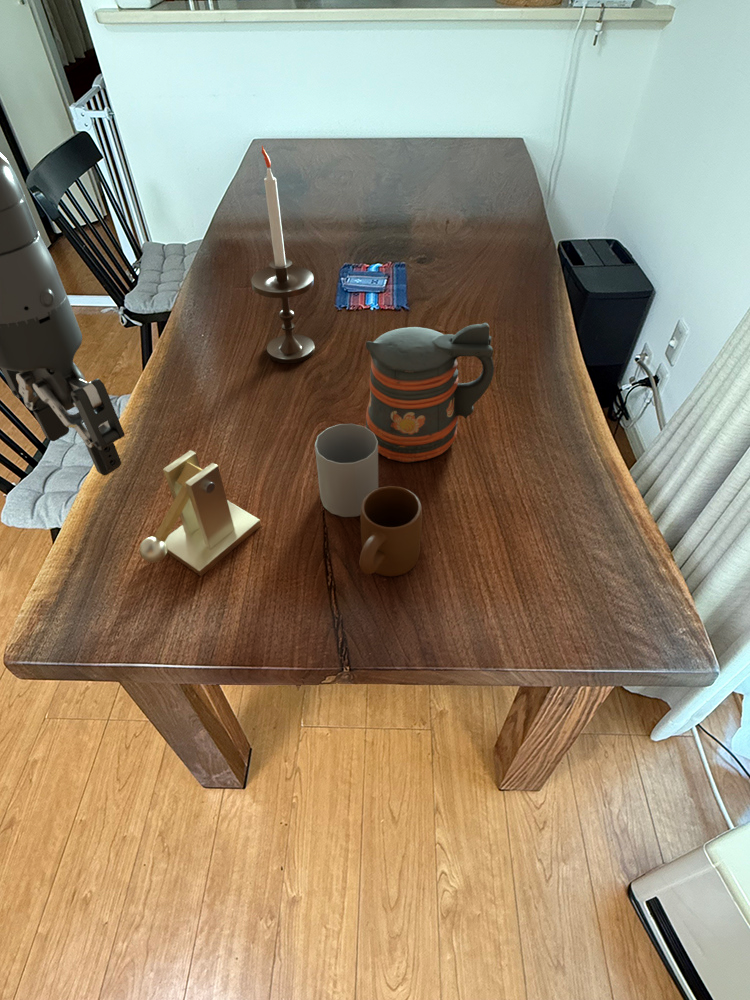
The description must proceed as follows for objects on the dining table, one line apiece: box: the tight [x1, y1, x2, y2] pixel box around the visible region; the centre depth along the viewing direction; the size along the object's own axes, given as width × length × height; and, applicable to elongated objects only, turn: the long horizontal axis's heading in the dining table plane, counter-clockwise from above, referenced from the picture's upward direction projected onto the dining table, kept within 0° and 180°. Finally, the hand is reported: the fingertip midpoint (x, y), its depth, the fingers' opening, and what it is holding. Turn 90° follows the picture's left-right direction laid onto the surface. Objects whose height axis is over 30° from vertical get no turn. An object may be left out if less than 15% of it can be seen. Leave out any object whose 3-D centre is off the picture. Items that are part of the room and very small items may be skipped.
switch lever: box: [139, 463, 204, 563], centre depth 73 cm, size 13×3×3 cm
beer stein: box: [364, 322, 495, 463], centre depth 90 cm, size 19×15×20 cm
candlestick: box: [250, 145, 316, 364], centre depth 102 cm, size 11×11×35 cm
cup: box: [314, 423, 379, 518], centre depth 83 cm, size 8×8×10 cm
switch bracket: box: [162, 449, 262, 577], centre depth 77 cm, size 11×8×13 cm
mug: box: [359, 485, 423, 577], centre depth 74 cm, size 12×8×9 cm, turn 156°
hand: (84, 452), depth 59 cm, fingers open, 8 cm apart
